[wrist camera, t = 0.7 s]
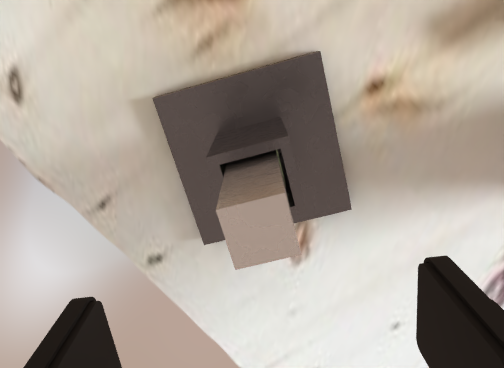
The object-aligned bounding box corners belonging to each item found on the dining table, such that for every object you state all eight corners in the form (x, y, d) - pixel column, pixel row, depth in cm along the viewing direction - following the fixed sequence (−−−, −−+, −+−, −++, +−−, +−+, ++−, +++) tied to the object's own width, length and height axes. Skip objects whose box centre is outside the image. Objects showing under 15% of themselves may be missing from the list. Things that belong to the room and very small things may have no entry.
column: (272, 131, 36) (286, 190, 21) (282, 171, 37) (303, 255, 22) (230, 142, 36) (213, 208, 21) (242, 182, 38) (234, 271, 22)
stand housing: (317, 51, 35) (340, 51, 26) (348, 203, 40) (376, 250, 31) (156, 96, 37) (122, 112, 27) (205, 238, 42) (191, 292, 32)
